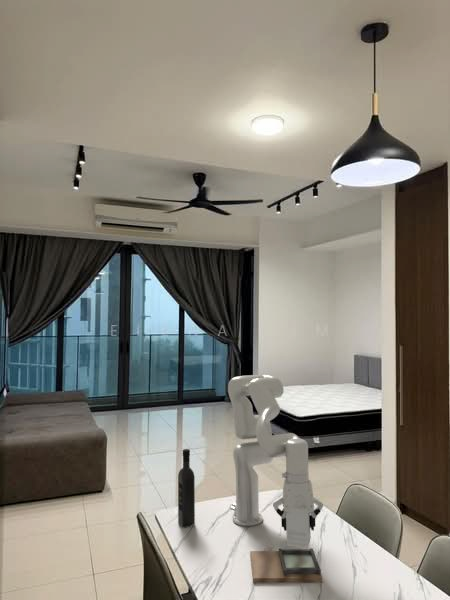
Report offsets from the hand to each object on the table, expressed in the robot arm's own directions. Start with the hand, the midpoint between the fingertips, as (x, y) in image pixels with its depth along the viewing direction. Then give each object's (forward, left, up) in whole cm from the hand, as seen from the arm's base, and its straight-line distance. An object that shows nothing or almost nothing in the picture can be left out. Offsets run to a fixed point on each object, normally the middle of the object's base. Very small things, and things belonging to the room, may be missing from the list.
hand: (298, 528), depth 143 cm
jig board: (-4, -3, -13) cm, 14 cm away
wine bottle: (-52, -5, -13) cm, 54 cm away
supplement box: (0, 0, -5) cm, 5 cm away
